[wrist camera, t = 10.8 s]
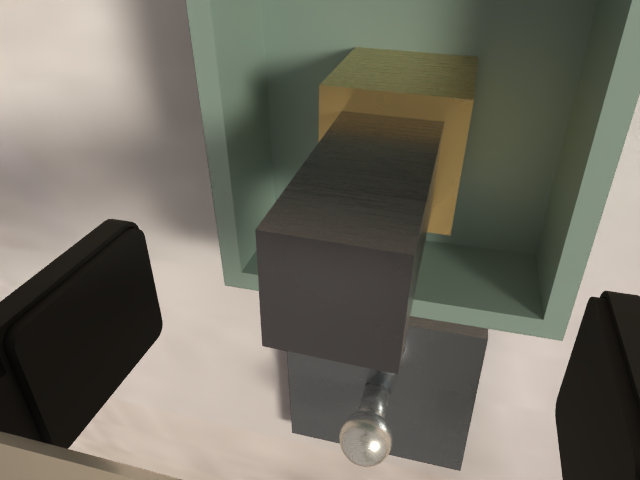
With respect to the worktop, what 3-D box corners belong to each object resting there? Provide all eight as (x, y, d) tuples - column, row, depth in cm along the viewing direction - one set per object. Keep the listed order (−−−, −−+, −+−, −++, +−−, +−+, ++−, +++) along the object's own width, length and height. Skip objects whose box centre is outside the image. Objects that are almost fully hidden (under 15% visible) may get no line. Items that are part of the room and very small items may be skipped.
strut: (478, 56, 19) (460, 227, 9) (458, 171, 21) (428, 404, 11) (355, 46, 20) (217, 191, 10) (350, 157, 22) (235, 362, 12)
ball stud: (461, 455, 31) (455, 545, 26) (297, 419, 33) (267, 496, 29) (488, 325, 25) (486, 411, 21) (290, 293, 28) (252, 364, 23)
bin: (550, 262, 23) (562, 340, 19) (267, 225, 26) (225, 285, 22) (645, -93, 16) (696, -91, 12) (242, -88, 19) (174, -85, 15)
